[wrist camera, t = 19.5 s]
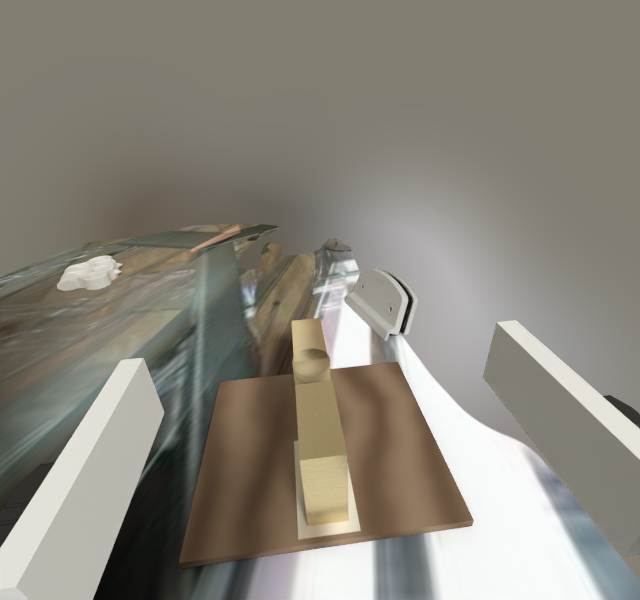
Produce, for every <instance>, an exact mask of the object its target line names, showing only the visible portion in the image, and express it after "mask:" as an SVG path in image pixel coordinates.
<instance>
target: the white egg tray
mask: <svg viewBox="0 0 640 600" xmlns="http://www.w3.org/2000/svg"><path fill="white" fill-rule="evenodd" d="M122 265H123V264H119V263H116V261H115V260H113V259H112V257H111V256H99V257H95V258H93V259H90V260H89V261H87V262H84V263H80V264H75V265H72V266H69V267H68V268H67V269H66V270H65V272H64V274H63V276H62V277H61V280H60V282H59V283H58V284H57V288H58V289H59V290H62V291H68V290H73V289H77V288H85V289H87V290H95V289H100V288H103V287H106V286H108V285H110V284H111V281H112V280H113V279H115V278H116V277H117V276H118V274H119V273H120V272H122V271H119V269H118V268H119V267H120V266H122Z"/></svg>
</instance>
